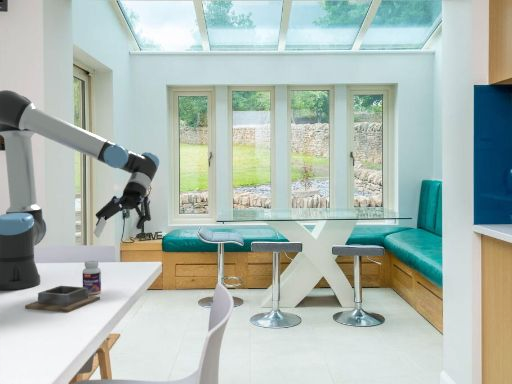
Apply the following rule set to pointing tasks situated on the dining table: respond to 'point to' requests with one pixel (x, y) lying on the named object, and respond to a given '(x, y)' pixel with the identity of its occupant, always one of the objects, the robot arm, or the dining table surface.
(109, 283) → the dining table surface
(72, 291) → the square framed tray
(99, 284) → the pill bottle
